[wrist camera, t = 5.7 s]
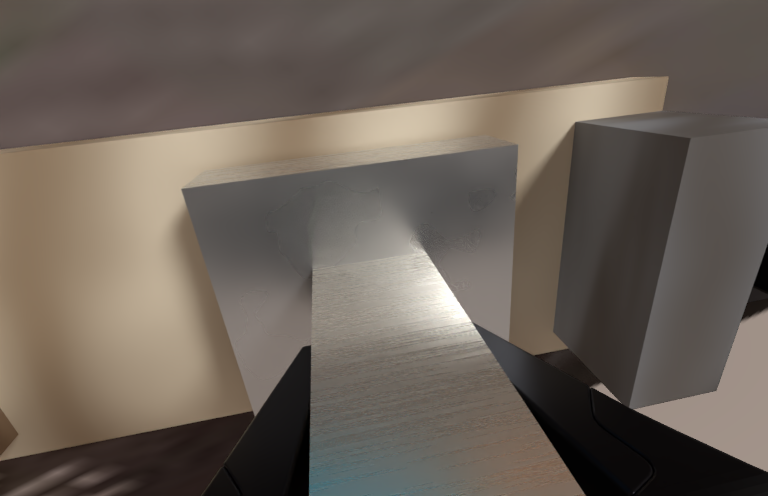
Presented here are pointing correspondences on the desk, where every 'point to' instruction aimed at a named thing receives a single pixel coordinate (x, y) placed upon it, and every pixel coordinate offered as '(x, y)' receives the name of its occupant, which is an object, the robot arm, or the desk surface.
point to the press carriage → (382, 312)
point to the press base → (356, 133)
